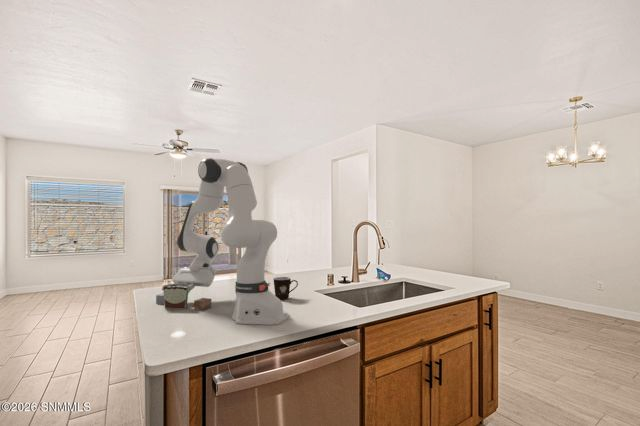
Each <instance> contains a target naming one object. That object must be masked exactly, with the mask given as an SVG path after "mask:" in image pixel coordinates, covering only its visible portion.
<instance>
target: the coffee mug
mask: <svg viewBox="0 0 640 426" xmlns="http://www.w3.org/2000/svg"><path fill="white" fill-rule="evenodd" d="M293 282H296V285H295V287H294V288H291V284H292V283H293ZM298 285H299V283H298V281H297V280H296V279H292V280H291V277H290V276H277V277H273V287H274V295H275V296H276V297H277V298H279V299H280V300H281V301H286V300H289V299H290V298H289V297H290V293H291V292H293V291H294V290H295V289H297V288H298ZM290 288H291V290H290Z"/></svg>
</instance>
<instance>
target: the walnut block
mask: <svg viewBox="0 0 640 426" xmlns="http://www.w3.org/2000/svg"><path fill="white" fill-rule="evenodd" d="M193 304H194V307H193V308H194V309H195V310H196V311H206V310H208V309H210V308H212V298H209V297H208V298H207V297H200V298H198V299H195V300H194V302H193ZM194 309H193V310H194ZM195 310H194V311H195Z"/></svg>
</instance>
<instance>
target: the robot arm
mask: <svg viewBox="0 0 640 426" xmlns="http://www.w3.org/2000/svg"><path fill="white" fill-rule="evenodd" d="M197 172H198V177H199V179H200V184H199V189H198V195H197V197H196V198H195V200H192V201H191V202H190V204H189V206H188V208H187V211H186V214H185V217H184V221H183V224H182V227H181V229H180V232H179V235H178V237H177V240H176V245H177V247H178V249H179V250H180V251H183V252H187V253H193V254H196V257H194V259H193V260H192V261H191V263H190V265H189V267H185V266H184V267H182V268H180V269H179V270H178V271H177V272H176V273H175V275H174V276H173V277H172V282H173V283H172V284H178V283H184V284H189V286H190V290H189V291H188V294H190V292H191V291H192V290H193V289H195V287H203V288H204V287H205V288H209V287H211V286H212V285H213V282H214V279H215V276H216V275H217V271H216V269H215V268H214V267H213V265H212V263H214V262H215V260H216V258H217V256H218V253H219V250H220V244H219V242H218V241H217V240H216V238H215V237H213V236H210V235H206V234H203V233H202V234H201V233H197V232H195V231H194V227H195V223H196V220H197V217H198V216H199V215H201V214H209V213H214V212H215V211H217V210H219V209H220V208H221V207H222V204H223V200H224V192H225V190H226V195H227V196H226V197H227V200H228V205H229V217H228V219H227V221H226V223H225V224H224V225H223V227H222V229H221V233H220V234H221V237H220V238H221V240H222V242H223V244H224V245H225V246H227V247H229V248H235V249H243V248H245V251H244V253H243V255H242V256H241V258H239V259H238V260H237V263H236V281H235V286H234V287H235V301H234V308H233V309H234V310H233V312H232V316H231V318H232V320H234V321H235V324H240V325H241V324H242V325H243V324H244V325H269V326H270V325H272V326H273V325H278V324H280V323H283V322H284V321H286V320H287V319H288V318H289V317H290V316H289V312H288V311H284V306H283V302H282V300H280V299H279V298H277V297H276V296H275V293H273V292H271V291H270V290H269V286H271V282H268V283H267V281H266V280H265V268H266V267H265V266H266V259H267V256H268V255H267V254H268V252H269V250H270V247H271V246H272V244H273V243H274V242H275V241H276V239H277V237H278V230H277V227H276V225H275V224H274V223H273V222H271V221H269V220H263V219H253V218H252V214H253V213H252V211H254V210H255V209H256V207H257V205H258V202H257V197H256V194H255V189H254V186H253V182H252V179H251V177H250V174H249V171H248V167H247V165H246V164H245V163H243V162H239V161H233V160H228V159H223V158H203V159H202V160H201V161H200V163H198V169H197Z"/></svg>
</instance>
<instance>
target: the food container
mask: <svg viewBox="0 0 640 426" xmlns="http://www.w3.org/2000/svg"><path fill="white" fill-rule="evenodd" d="M189 290H190V286H189V284H184V283H178V284H174V283H167V284H165V285H164V284H163V286H162V289H161V291H162V292H163V293H164V304H163V305H164V309H167V310H168V309H169V310H170V309H171V310H186V309H187V308H188V300H189V299H188V298H189V293H188V291H189Z"/></svg>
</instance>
